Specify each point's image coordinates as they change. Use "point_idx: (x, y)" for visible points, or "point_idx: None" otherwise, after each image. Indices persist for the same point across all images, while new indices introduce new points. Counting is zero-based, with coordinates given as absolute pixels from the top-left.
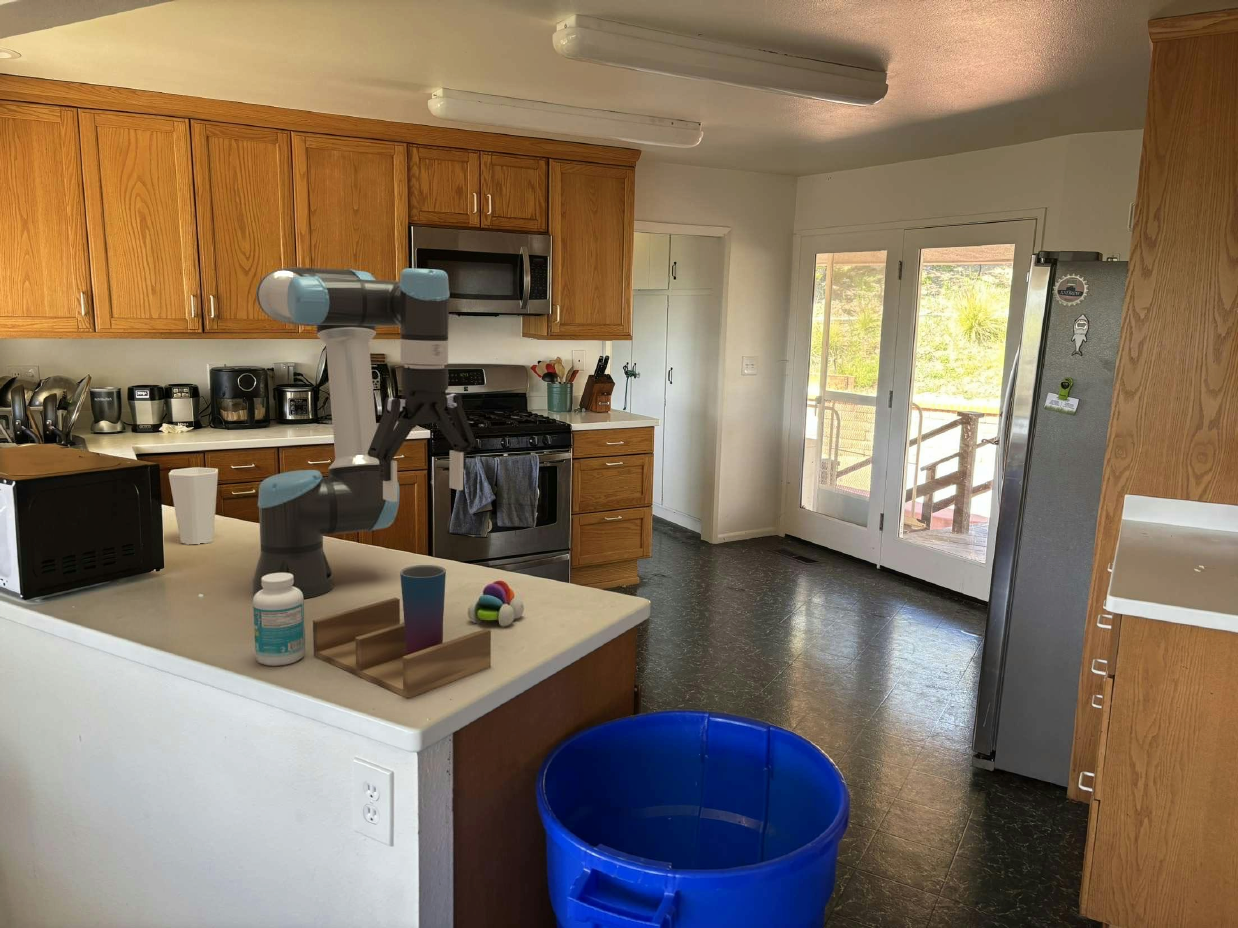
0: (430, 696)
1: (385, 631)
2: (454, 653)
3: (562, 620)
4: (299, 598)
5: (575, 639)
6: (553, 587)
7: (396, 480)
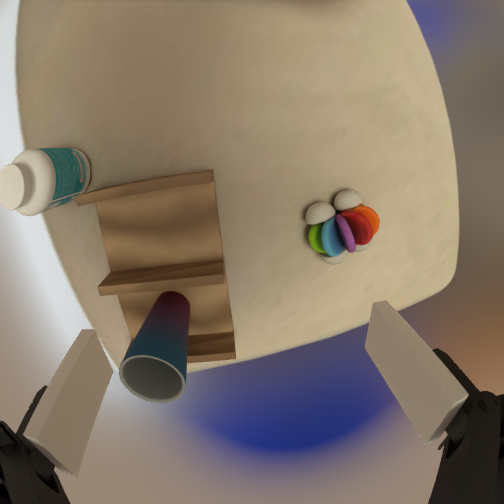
0: None
1: (131, 292)
2: None
3: (380, 275)
4: (42, 208)
5: (345, 325)
6: (446, 180)
7: (92, 421)
